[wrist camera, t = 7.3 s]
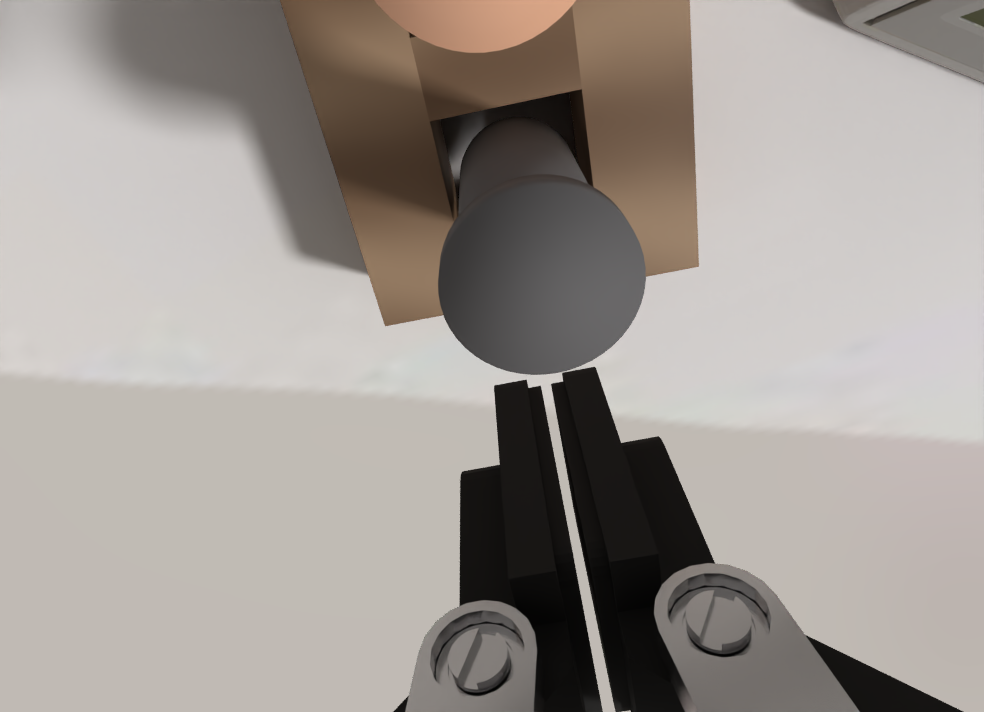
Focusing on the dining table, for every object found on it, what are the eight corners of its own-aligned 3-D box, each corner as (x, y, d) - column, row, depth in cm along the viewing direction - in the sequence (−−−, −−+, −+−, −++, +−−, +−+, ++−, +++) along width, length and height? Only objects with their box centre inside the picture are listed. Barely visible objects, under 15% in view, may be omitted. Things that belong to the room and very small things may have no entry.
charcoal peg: (433, 120, 22) (414, 209, 14) (576, 90, 21) (637, 164, 14) (464, 253, 24) (463, 390, 17) (593, 227, 24) (652, 355, 16)
